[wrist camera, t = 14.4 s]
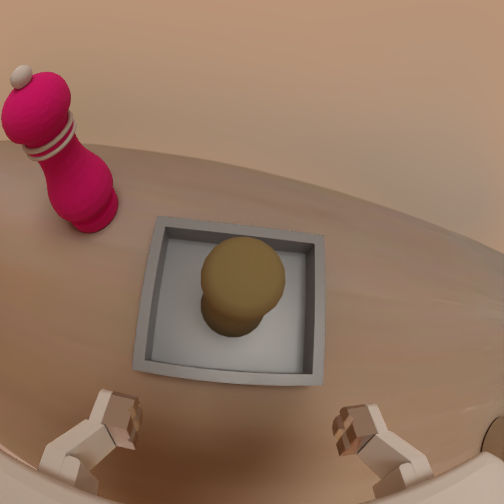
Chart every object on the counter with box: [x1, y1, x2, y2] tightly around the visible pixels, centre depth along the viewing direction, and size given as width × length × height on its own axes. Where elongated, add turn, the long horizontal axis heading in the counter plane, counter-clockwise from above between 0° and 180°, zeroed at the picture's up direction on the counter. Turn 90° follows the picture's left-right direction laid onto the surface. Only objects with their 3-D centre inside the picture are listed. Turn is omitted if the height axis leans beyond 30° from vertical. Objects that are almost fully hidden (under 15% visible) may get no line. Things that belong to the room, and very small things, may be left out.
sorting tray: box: [132, 216, 325, 386], centre depth 25 cm, size 16×14×4 cm
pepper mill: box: [1, 65, 118, 233], centre depth 19 cm, size 7×7×20 cm
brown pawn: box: [201, 237, 286, 337], centre depth 21 cm, size 6×6×11 cm
